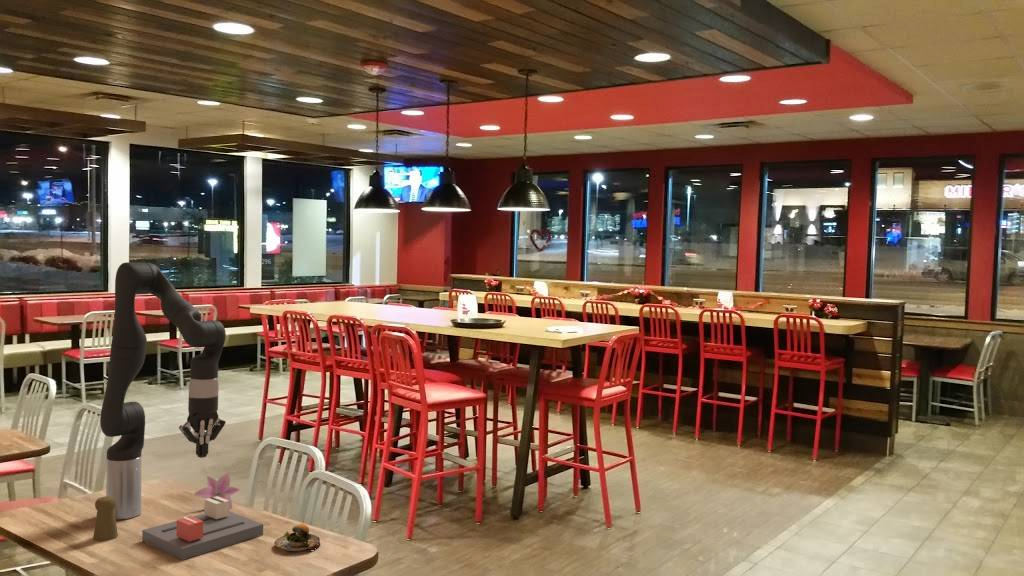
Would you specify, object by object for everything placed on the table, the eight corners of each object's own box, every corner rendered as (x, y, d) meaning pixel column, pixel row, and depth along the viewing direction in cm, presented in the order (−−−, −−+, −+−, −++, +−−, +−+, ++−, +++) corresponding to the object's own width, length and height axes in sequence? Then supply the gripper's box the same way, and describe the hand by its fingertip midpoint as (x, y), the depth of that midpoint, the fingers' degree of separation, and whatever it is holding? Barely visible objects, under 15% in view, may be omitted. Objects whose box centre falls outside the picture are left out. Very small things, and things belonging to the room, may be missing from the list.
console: (142, 541, 213) (142, 529, 213) (222, 518, 232) (222, 507, 232) (182, 560, 201) (182, 547, 201) (263, 534, 220) (263, 523, 220)
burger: (266, 546, 212) (266, 519, 212) (304, 536, 221) (304, 509, 220) (290, 559, 204) (290, 531, 204) (329, 547, 213) (329, 520, 212)
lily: (188, 512, 240) (192, 489, 236) (207, 487, 250) (211, 465, 246) (225, 525, 240) (230, 503, 236) (242, 499, 250) (247, 477, 246)
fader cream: (204, 514, 225) (204, 498, 225) (217, 511, 228) (217, 495, 228) (216, 519, 222) (216, 503, 221) (229, 515, 225) (229, 499, 225)
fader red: (176, 536, 208) (176, 519, 208) (190, 532, 211) (190, 515, 211) (189, 541, 204) (189, 524, 204) (203, 537, 208) (203, 520, 207)
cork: (107, 542, 212) (107, 501, 211) (87, 540, 213) (88, 499, 212) (122, 534, 218) (123, 495, 217) (103, 532, 219) (103, 493, 218)
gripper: (218, 389, 222) (216, 449, 223) (173, 394, 211) (171, 458, 212) (233, 393, 217) (231, 455, 218) (188, 399, 207) (186, 464, 208)
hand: (201, 456), depth 215 cm, fingers closed
